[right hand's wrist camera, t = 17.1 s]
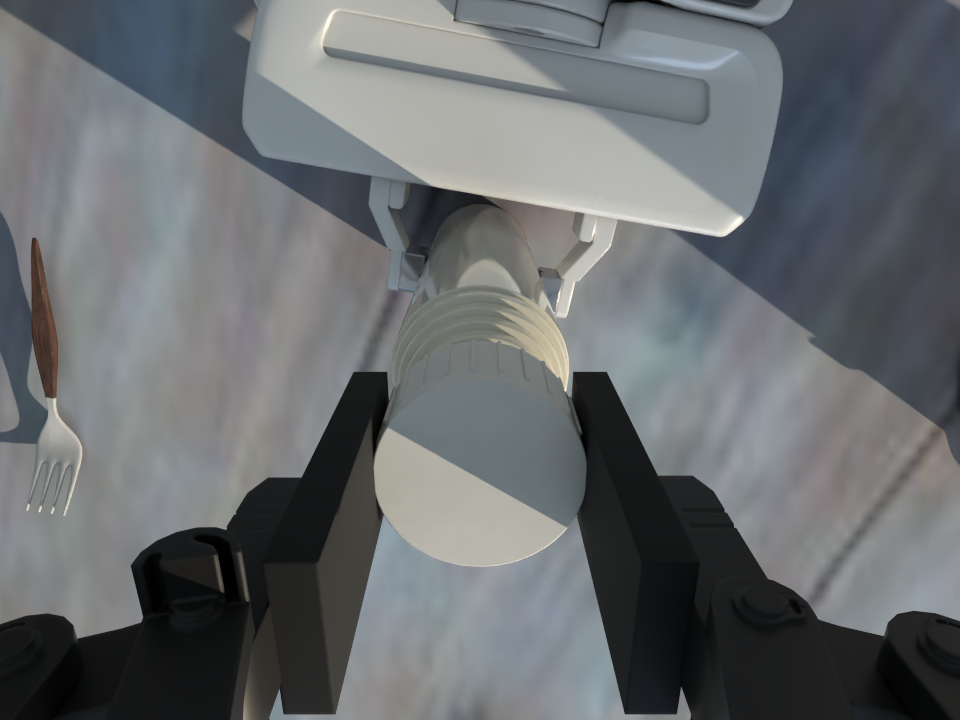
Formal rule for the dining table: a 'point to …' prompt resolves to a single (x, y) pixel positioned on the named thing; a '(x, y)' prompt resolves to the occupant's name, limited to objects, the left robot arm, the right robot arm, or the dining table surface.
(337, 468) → the right robot arm
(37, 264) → the fork
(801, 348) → the dining table surface
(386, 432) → the cap
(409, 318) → the bottle
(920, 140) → the dining table surface
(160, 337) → the dining table surface
